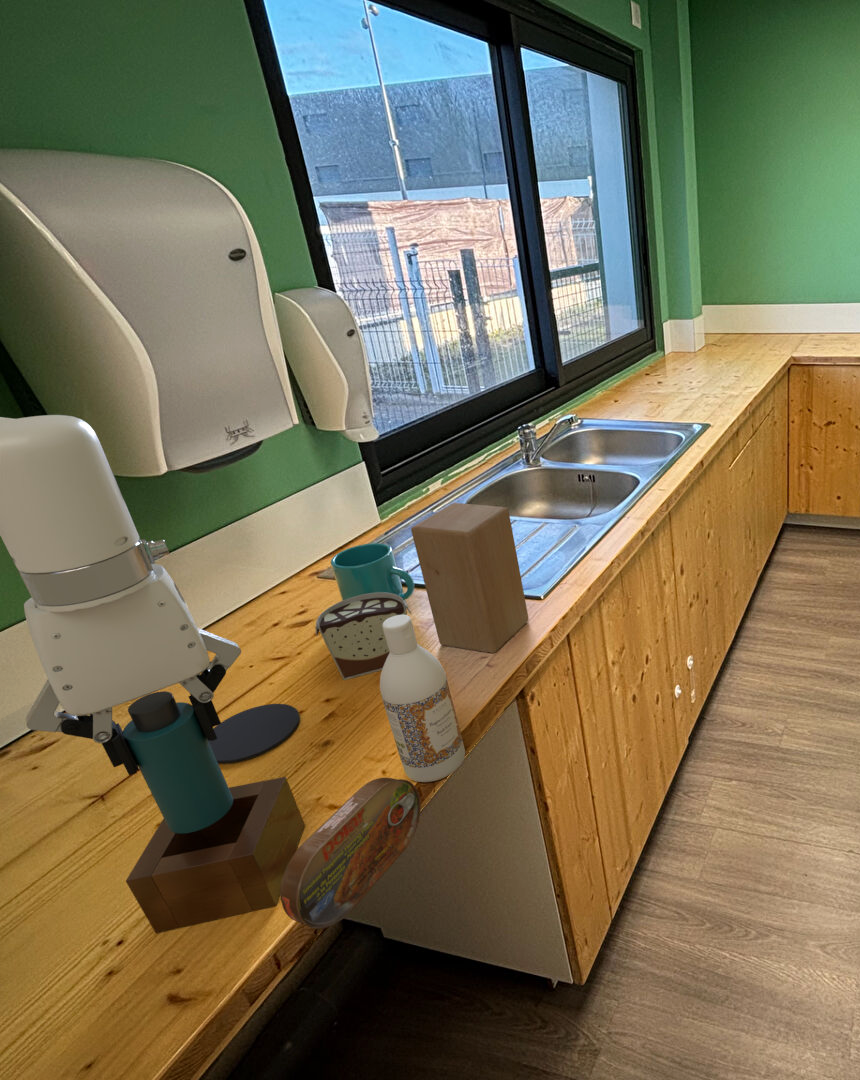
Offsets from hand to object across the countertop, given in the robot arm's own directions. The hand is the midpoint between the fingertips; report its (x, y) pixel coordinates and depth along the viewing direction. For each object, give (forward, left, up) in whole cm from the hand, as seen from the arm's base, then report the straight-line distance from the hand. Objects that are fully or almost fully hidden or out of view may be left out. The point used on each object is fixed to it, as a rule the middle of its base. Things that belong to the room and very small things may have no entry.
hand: (171, 747), depth 63 cm
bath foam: (+18, +11, -17) cm, 27 cm away
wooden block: (+23, +40, -17) cm, 49 cm away
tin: (+13, -4, -17) cm, 22 cm away
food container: (+7, +37, -17) cm, 41 cm away
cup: (+6, +51, -17) cm, 54 cm away
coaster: (-6, +24, -17) cm, 30 cm away
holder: (0, 0, -17) cm, 17 cm away
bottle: (0, 0, -8) cm, 8 cm away
